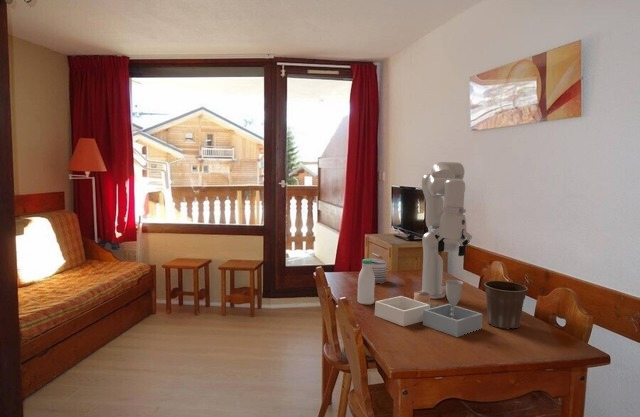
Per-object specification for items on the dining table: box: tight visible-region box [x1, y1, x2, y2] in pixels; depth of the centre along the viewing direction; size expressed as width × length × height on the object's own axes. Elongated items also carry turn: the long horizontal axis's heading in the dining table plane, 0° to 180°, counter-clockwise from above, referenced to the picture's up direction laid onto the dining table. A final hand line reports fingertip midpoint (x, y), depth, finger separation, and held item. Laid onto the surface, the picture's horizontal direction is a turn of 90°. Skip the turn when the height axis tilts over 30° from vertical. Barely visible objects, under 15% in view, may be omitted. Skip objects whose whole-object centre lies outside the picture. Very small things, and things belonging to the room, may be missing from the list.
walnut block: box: [426, 301, 439, 308], centre depth 192 cm, size 5×5×5 cm
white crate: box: [374, 295, 430, 327], centre depth 188 cm, size 16×16×6 cm
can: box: [370, 258, 387, 284], centre depth 249 cm, size 11×11×12 cm
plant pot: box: [483, 280, 529, 329], centre depth 182 cm, size 16×16×16 cm
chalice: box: [445, 279, 464, 319], centre depth 178 cm, size 7×7×18 cm
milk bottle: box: [357, 258, 376, 305], centre depth 208 cm, size 8×8×20 cm
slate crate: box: [422, 303, 484, 338], centre depth 178 cm, size 16×16×6 cm
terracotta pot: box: [413, 291, 431, 303], centre depth 200 cm, size 7×7×7 cm
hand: (451, 253), depth 180 cm, fingers open, 9 cm apart
